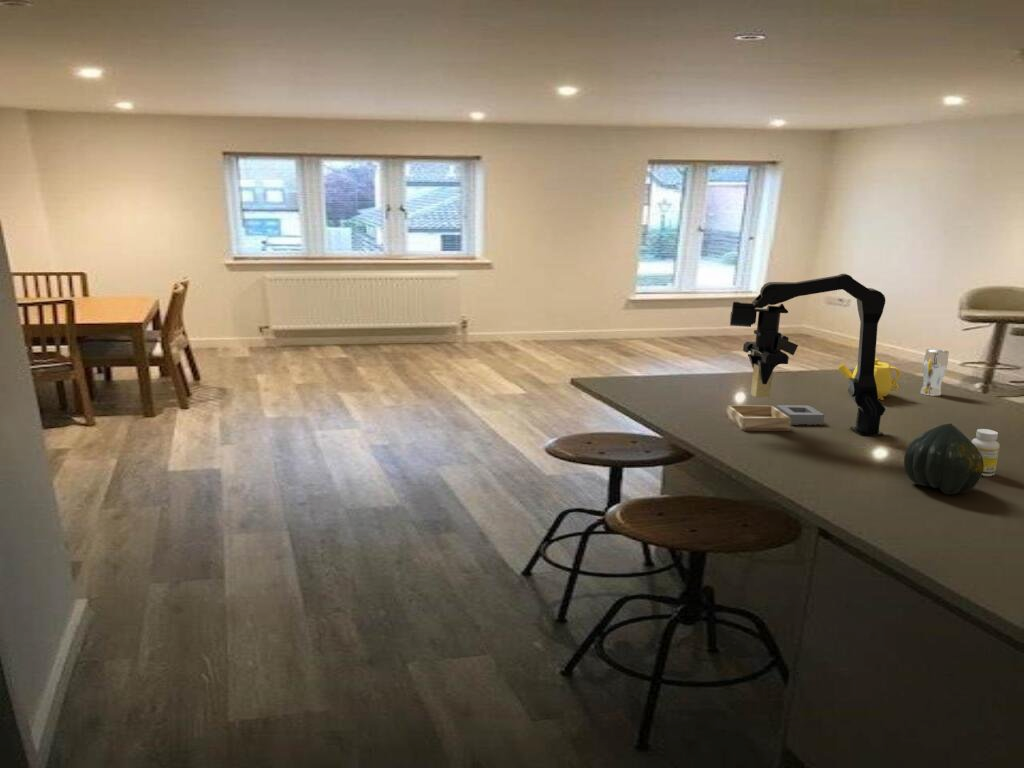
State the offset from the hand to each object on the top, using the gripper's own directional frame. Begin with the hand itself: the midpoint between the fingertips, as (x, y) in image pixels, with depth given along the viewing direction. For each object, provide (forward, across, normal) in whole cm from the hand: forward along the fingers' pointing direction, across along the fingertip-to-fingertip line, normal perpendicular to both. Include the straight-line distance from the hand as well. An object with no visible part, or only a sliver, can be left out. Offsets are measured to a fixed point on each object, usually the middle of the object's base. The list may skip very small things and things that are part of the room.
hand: (761, 382), depth 201 cm
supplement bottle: (+12, -39, -39) cm, 57 cm away
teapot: (+12, +34, -50) cm, 61 cm away
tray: (+12, 0, 0) cm, 12 cm away
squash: (+12, -48, -23) cm, 55 cm away
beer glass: (+12, +36, -74) cm, 83 cm away
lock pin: (+4, 0, 0) cm, 4 cm away
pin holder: (+12, +4, -14) cm, 19 cm away
